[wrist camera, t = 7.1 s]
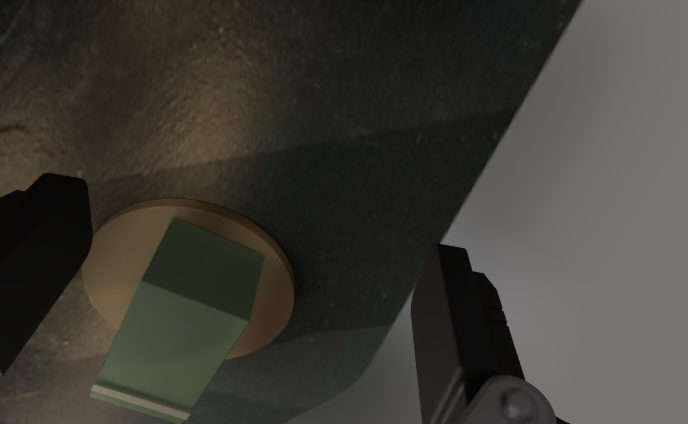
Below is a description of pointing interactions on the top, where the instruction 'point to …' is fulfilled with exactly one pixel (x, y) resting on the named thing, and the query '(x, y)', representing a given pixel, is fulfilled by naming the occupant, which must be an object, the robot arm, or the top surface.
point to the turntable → (142, 241)
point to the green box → (180, 323)
